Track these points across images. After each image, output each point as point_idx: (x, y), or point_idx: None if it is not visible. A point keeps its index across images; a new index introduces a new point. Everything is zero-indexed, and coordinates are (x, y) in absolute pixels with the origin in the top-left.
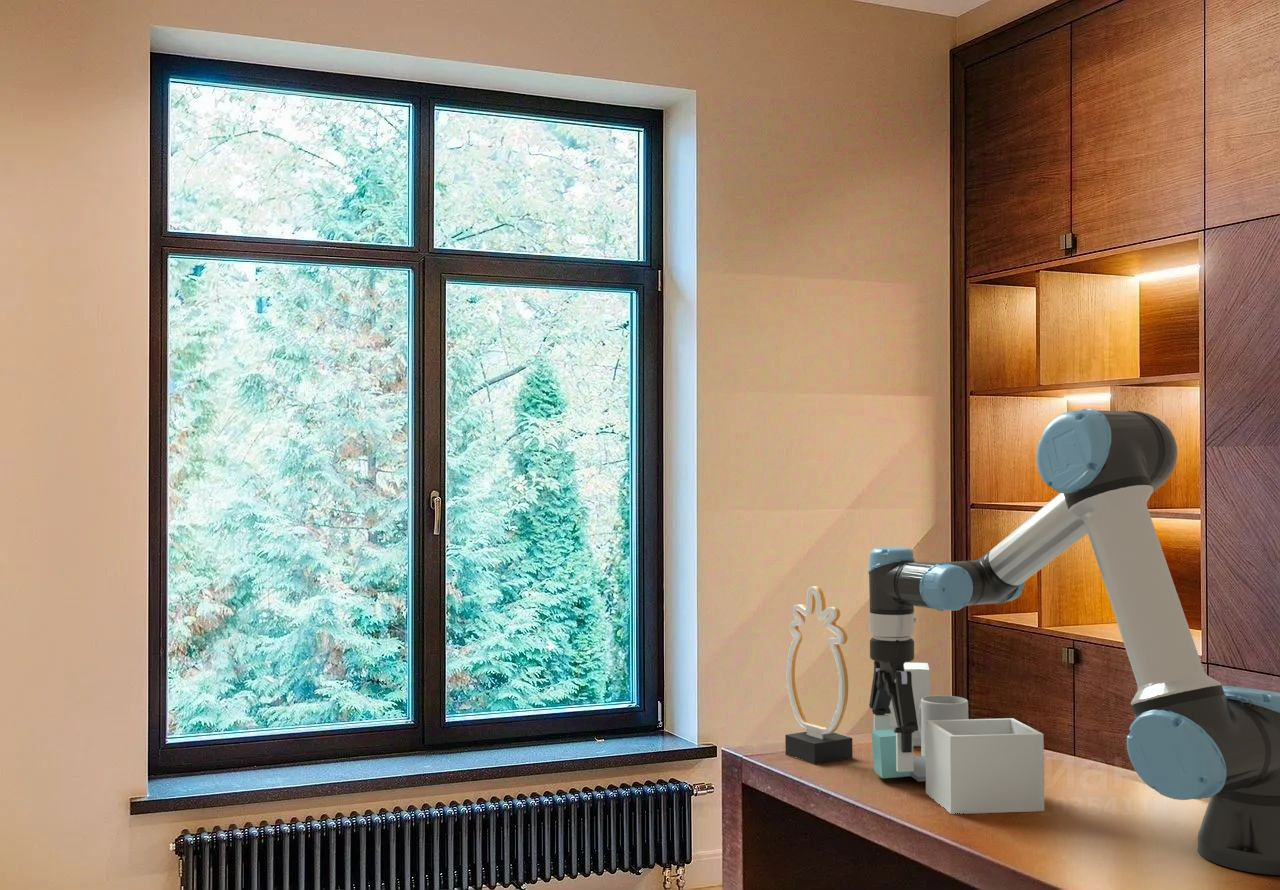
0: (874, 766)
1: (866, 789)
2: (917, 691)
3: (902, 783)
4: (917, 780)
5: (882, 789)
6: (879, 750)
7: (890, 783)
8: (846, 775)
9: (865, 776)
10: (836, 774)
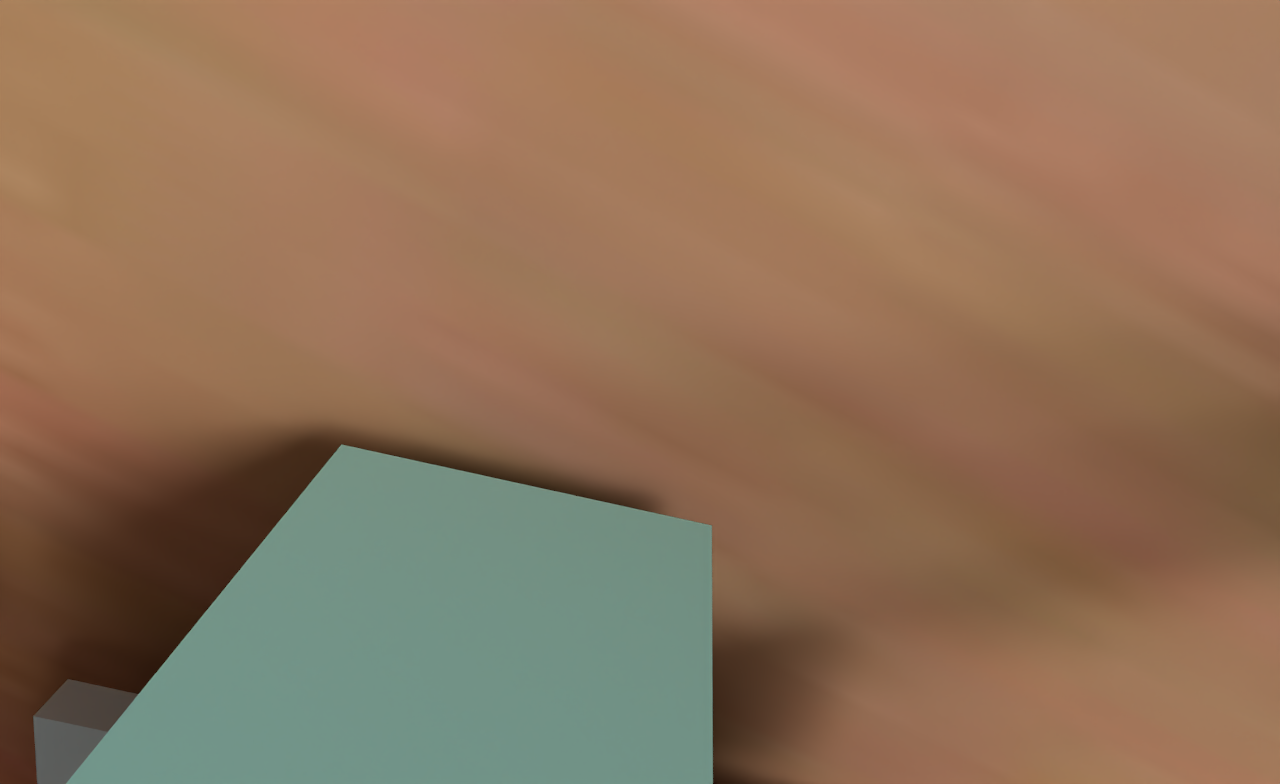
0: (681, 556)
1: (160, 109)
2: None
3: None
4: (86, 688)
5: (144, 300)
6: (228, 689)
7: None
8: (919, 201)
9: (769, 405)
10: (1038, 87)
